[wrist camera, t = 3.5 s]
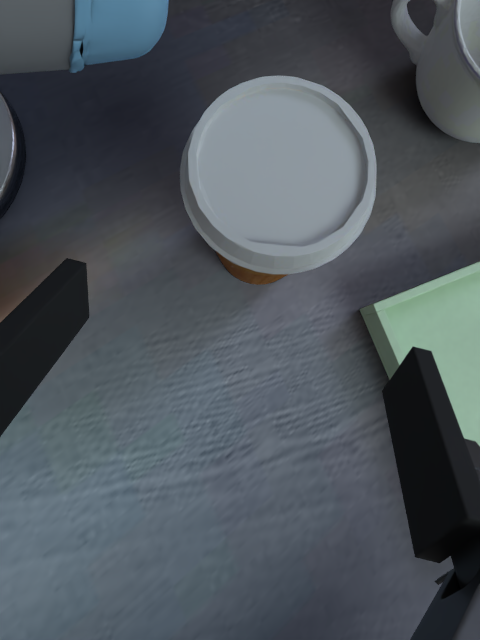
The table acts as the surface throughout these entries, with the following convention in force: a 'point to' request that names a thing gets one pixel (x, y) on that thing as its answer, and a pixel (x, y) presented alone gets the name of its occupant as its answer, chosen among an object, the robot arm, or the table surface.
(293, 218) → the disposable coffee cup
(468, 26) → the teacup
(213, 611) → the table surface
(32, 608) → the table surface
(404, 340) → the tray
